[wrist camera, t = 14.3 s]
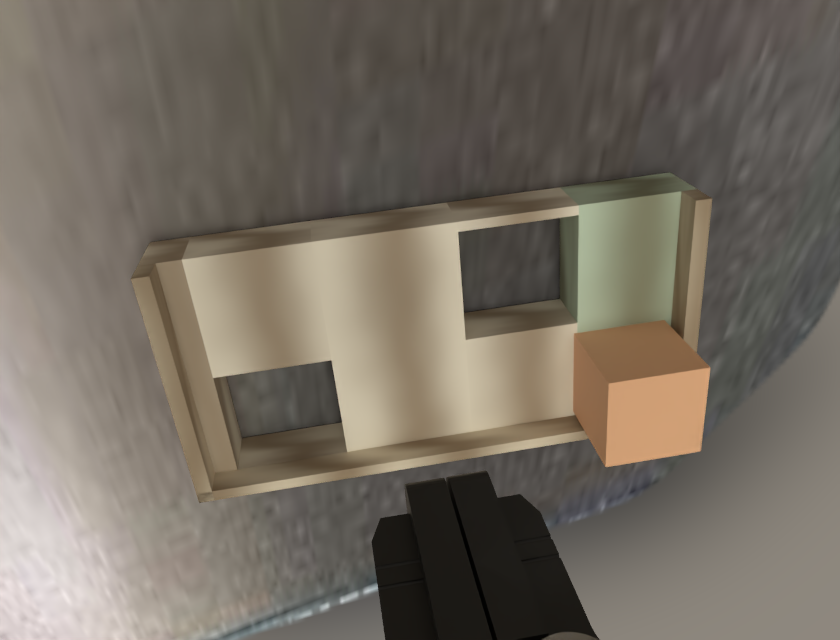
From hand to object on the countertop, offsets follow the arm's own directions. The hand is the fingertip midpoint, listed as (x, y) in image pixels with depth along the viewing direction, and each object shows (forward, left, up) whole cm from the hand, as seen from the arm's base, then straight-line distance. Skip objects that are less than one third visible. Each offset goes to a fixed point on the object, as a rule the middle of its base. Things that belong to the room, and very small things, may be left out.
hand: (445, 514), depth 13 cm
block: (+13, -13, -23) cm, 29 cm away
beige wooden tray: (+3, -9, -26) cm, 27 cm away
